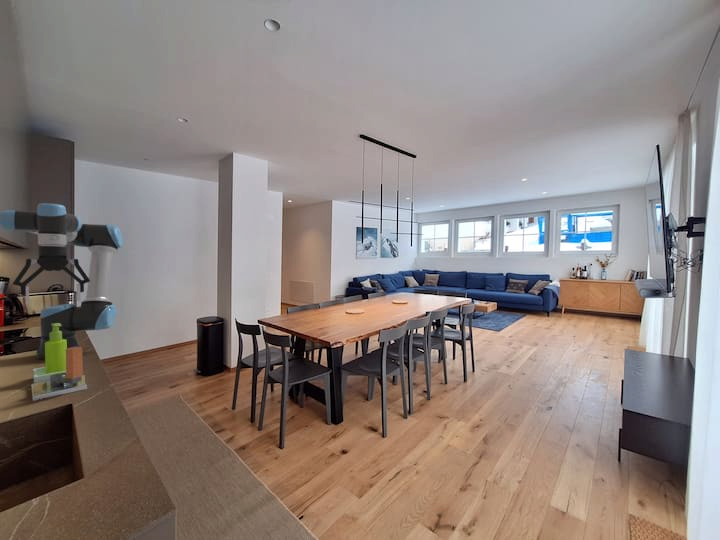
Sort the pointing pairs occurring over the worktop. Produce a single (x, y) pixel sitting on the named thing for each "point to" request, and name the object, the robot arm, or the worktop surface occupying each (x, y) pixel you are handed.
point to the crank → (70, 368)
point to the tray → (42, 375)
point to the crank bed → (55, 389)
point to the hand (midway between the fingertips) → (54, 302)
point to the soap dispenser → (55, 351)
